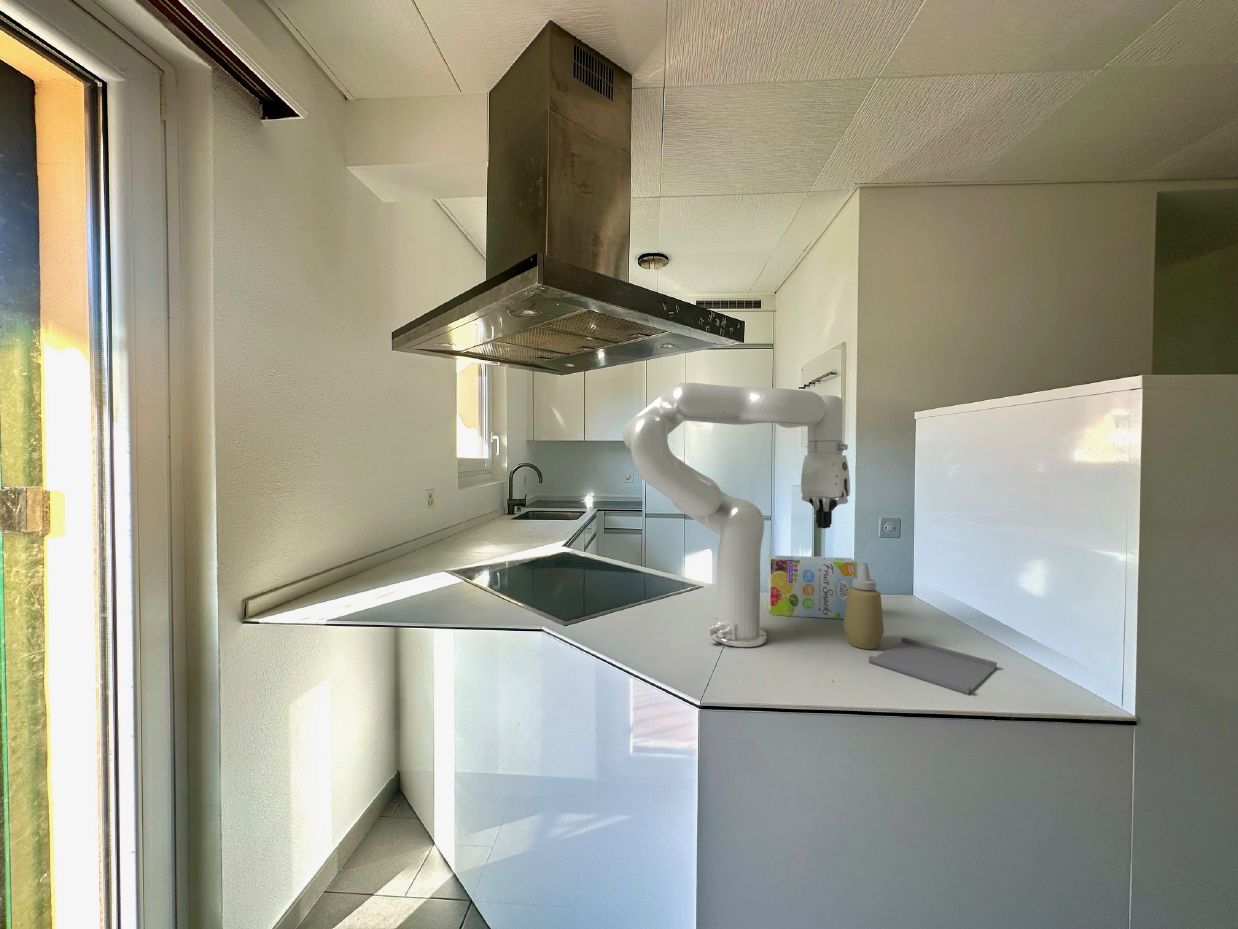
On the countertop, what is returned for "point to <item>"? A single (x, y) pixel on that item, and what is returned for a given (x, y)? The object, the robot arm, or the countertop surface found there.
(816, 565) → the snack box
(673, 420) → the robot arm
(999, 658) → the countertop surface
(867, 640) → the squeeze bottle
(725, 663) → the countertop surface
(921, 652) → the mat
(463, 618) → the countertop surface
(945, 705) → the countertop surface
